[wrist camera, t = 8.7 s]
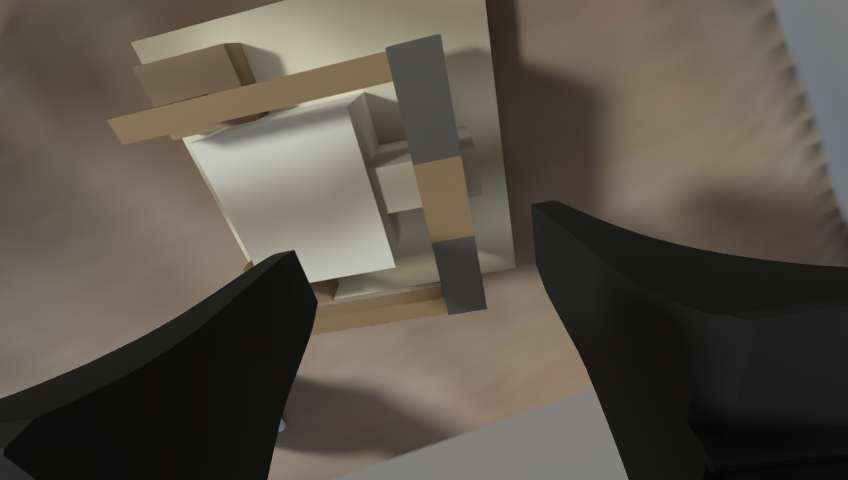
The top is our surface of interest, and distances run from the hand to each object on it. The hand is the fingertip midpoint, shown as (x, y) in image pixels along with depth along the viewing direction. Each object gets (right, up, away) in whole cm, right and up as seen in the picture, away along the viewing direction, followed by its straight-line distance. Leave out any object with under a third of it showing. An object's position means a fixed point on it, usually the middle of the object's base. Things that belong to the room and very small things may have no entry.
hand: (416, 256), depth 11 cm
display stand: (-3, +5, +9) cm, 10 cm away
